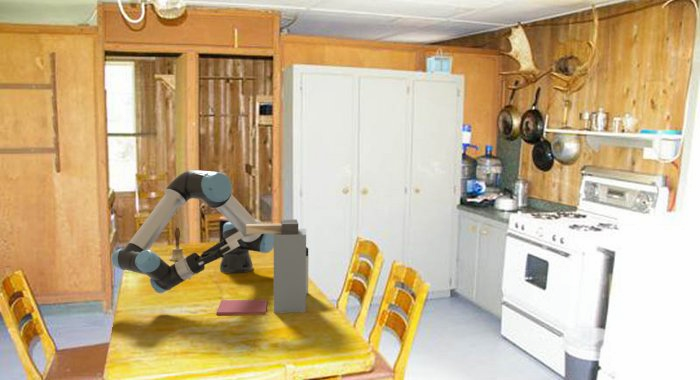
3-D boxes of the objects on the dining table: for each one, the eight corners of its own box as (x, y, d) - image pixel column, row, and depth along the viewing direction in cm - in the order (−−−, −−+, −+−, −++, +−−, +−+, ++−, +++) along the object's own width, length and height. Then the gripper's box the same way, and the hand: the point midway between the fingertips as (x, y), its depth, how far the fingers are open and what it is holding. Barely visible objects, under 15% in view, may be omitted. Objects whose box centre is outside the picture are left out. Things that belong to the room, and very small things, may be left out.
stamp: (246, 230, 217) (246, 220, 217) (296, 229, 221) (296, 219, 220) (246, 235, 209) (246, 224, 209) (298, 234, 213) (298, 223, 212)
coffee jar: (216, 252, 299) (215, 218, 296) (224, 247, 309) (223, 214, 306) (236, 253, 297) (235, 219, 294) (243, 248, 308) (242, 215, 305)
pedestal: (274, 303, 226) (274, 228, 221) (305, 302, 227) (305, 228, 222) (273, 312, 216) (273, 234, 211) (305, 312, 217) (306, 234, 212)
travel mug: (301, 290, 242) (301, 244, 239) (311, 294, 237) (311, 247, 234) (289, 293, 238) (289, 246, 235) (299, 297, 233) (299, 249, 230)
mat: (221, 302, 225) (221, 300, 225) (267, 302, 227) (267, 299, 227) (216, 314, 213) (216, 312, 212) (265, 314, 214) (265, 311, 214)
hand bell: (173, 256, 291) (172, 225, 288) (189, 257, 290) (188, 226, 287) (166, 260, 283) (165, 228, 280) (182, 261, 282) (181, 229, 279)
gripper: (201, 264, 228) (248, 238, 228) (189, 284, 204) (241, 255, 203) (191, 249, 227) (238, 222, 227) (178, 267, 202) (230, 237, 202)
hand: (239, 237), depth 215 cm, fingers open, 13 cm apart
